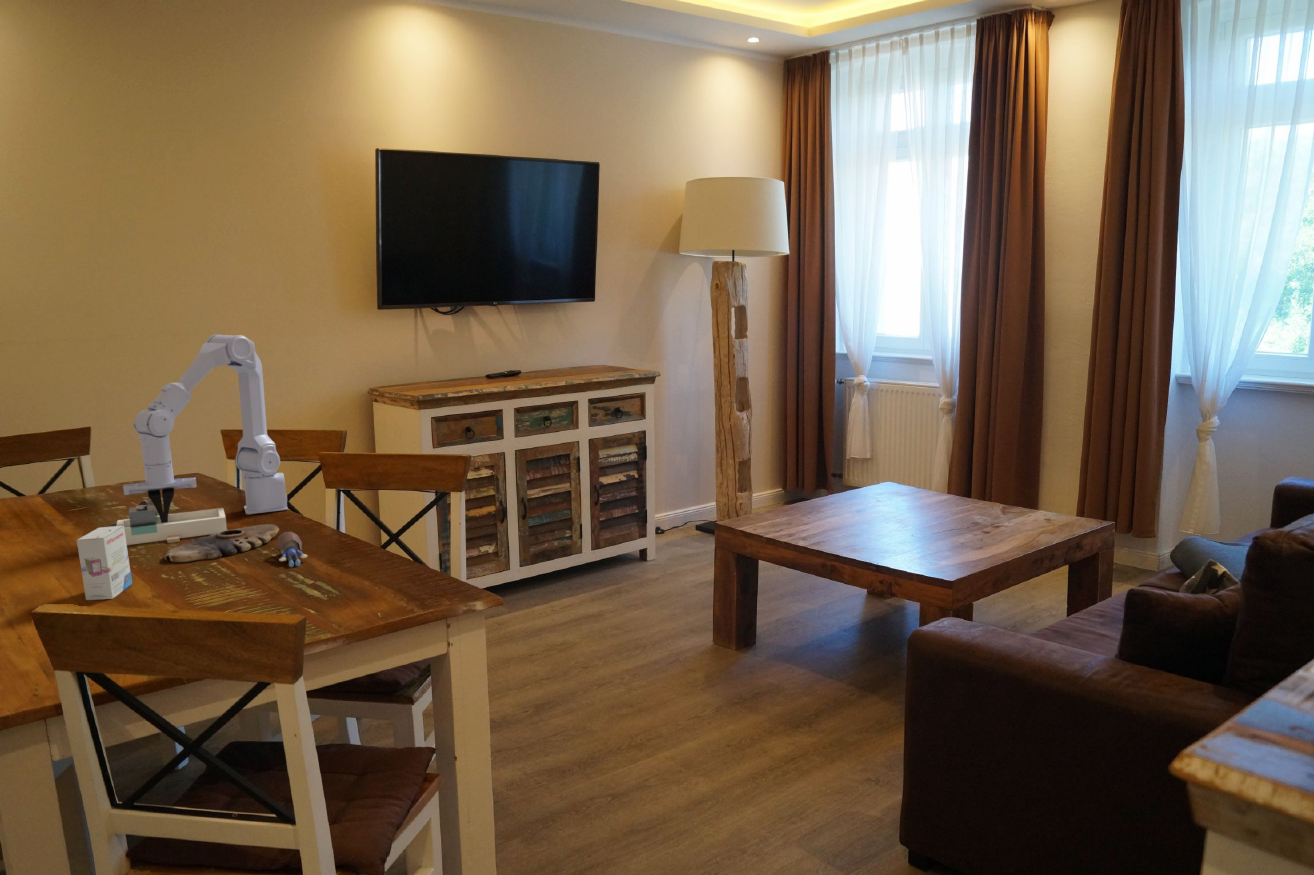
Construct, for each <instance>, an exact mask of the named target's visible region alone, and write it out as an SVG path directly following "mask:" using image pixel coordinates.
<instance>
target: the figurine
mask: <svg viewBox="0 0 1314 875" xmlns="http://www.w3.org/2000/svg"><path fill="white" fill-rule="evenodd" d="M276 542H277V543H276V547H277V548H276V549H277V550H278V552H279V554H282V555H281V557H280V558H278V560H279V562H286V561H287V560H288V566H289V568H293V567H294V566H296V567H300V566H301V560H300V559H299V558H301V559H306V558H308V554H304V552H303V551H302V549H303V547H302V546H303V542H302V540H301V538H300V537H299V535H298V534H296V533H295V532H292V531H285V532H282V533H281V534H280V535H279V536H278V537H277V541H276ZM298 556H299V557H298ZM294 561H295V562H294Z"/></svg>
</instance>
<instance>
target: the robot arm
mask: <svg viewBox="0 0 1314 875" xmlns="http://www.w3.org/2000/svg"><path fill="white" fill-rule="evenodd" d="M255 345H256V344H255V342H254V341H252V340H250V338H248V337H246V336H245V335H241V334H237V335H230V334H227V335H225V334H219V333H217V334H212V335H211V336H210V337H209V338H207V340H206V342H204V343H203V344H202V345H201V347H200V350H199V353H198V354H197V355H196V357H194V359H193V361H192V362H191V363H190V365H189V366H188V367H187V369H185V371H184V373H183V374H182V375H181V376H180V378H179V379H178V380H177V382H169V383H168V384H167V385H163V386H162V387H161V388H160V390H161V392H160V393H159V395H158V396H157V397H156V398H155V399H154V400H153V401H152V402H149V403H148V405H147V408H146V409H144V410H141V411H140V412H138V414H137V415H136V416H135V419H134V422H133V423H132V427H133V429H134V431H135V432H136V433H137V434H138V436H139V440H140V445H141V446H140V447H141V455H142V464H143V470H144V471H143V472H144V479H145V481H141V482H137V483H132V484H124V485H123V487H122V488H123V495H124V496H128V495H129V496H130V495H132V494H133V495H134V494H143V493H147V497H148V498H149V499H150V500H149V501H150V502H151V504H152V505H154V506H155V509H156V510H157V511H158V514H159V516H160V519H161V523H166V522H168V514H170V513H169V512H170V507H171V503H172V501H173V498H174V495H175V490H178V489H186V488H191V489H192V488H197V479H196V477H185V478H182V477H181V478H175V477H174V468H173V459H172V449H171V441H170V432H171V433H172V431H173V430H174V426H175V419H176V418H177V416H179V414H180V413H181V412H182V411H183V410H184V408H185V407H186V406H187V405H188V403H189V402H191V400H192V393H191V392H192V390H194V389H195V387H196V386H197V385H198V384H199V383H200V382H201V381H202V380H203V379H204V378H206V376H207V375H208V374H209V373H210V372H211V371H212V370H213V369H214V368H215V367H221V366H225V365H227V366H228V367H229V368H231V369H232V370H233V371H235V373H237V378H238V389H239V401H240V402H239V403H240V413H241V414H240V415H241V416H240V417H241V425H242V426H241V428H242V437H241V438H240V440H239V441H238V443H237V452H236V455H235V465H236V467H237V469H239V470H240V471H241V474H242V475H243V483H244V484H243V486H244V487H243V488H244V495H245V505H244V506H243V509H244V511H245V515H254V514H264V513H270V512H271V513H272V512H279V511H286V510H288V495H287V493H286V492H287V490H286V481H285V480H286V479H285V476H284V475H285V474H284V473H283V472H277V471H278V469H279V467H280V465H281V457H280V455H279V453H278V452H277V447H276V443H275V441H273V440H272V439H271V437H270V436H269V435H268V427H267V426H268V425H267V417H266V416H267V414H266V402H265V401H266V400H265V399H266V398H265V389H264V388H265V387H264V378H263V377H264V376H263V365H262V362H261V360H260V358H259V356H258V354H257V352H256V348H255V347H256V346H255Z"/></svg>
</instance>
